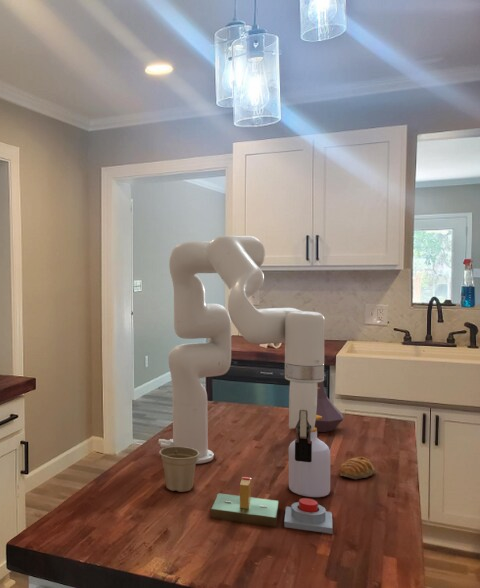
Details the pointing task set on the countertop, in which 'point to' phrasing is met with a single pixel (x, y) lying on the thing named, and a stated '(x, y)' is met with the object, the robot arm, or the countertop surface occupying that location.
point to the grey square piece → (308, 519)
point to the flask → (326, 411)
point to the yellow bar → (245, 492)
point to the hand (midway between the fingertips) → (303, 460)
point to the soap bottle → (311, 469)
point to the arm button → (308, 505)
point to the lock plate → (245, 510)
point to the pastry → (356, 468)
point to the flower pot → (179, 467)
